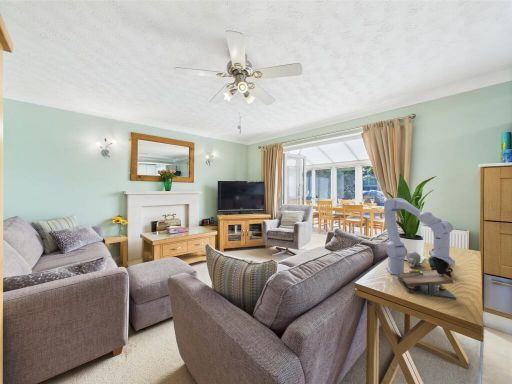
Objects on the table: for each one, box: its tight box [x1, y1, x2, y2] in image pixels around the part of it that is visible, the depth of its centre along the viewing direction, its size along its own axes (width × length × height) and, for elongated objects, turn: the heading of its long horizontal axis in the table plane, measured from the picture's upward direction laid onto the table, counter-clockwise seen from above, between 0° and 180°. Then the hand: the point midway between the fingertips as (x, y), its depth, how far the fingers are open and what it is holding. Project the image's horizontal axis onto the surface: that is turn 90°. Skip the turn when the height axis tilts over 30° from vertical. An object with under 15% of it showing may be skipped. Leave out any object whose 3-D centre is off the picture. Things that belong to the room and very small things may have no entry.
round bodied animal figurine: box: [405, 250, 422, 268], centre depth 129 cm, size 7×12×8 cm, turn 131°
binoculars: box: [429, 257, 453, 277], centre depth 116 cm, size 9×11×10 cm
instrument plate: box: [398, 269, 454, 287], centre depth 100 cm, size 12×18×3 cm, turn 71°
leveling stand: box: [397, 276, 457, 300], centre depth 100 cm, size 15×18×6 cm
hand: (440, 273), depth 98 cm, fingers closed
